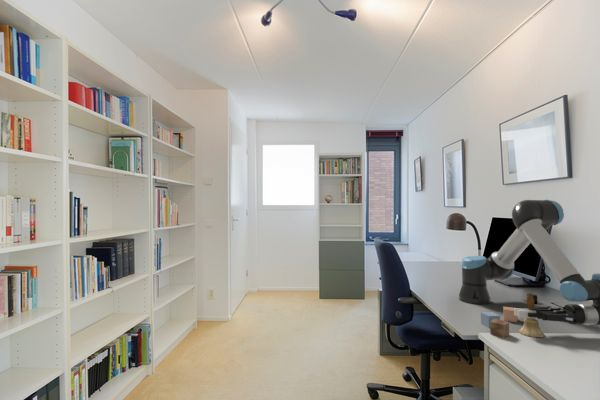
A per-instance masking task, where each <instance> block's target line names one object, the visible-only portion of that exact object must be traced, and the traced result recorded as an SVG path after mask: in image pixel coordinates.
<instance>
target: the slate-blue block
mask: <svg viewBox="0 0 600 400" xmlns="http://www.w3.org/2000/svg"><path fill="white" fill-rule="evenodd" d="M494 319H498V320H501V316H500V315H499V314H497V313H495V312H493V311H482V312H480V324H481V325H482V326H485V327H486V328H488V329H490V321H492V320H494Z"/></svg>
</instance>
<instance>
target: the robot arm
mask: <svg viewBox="0 0 600 400" xmlns="http://www.w3.org/2000/svg"><path fill="white" fill-rule="evenodd" d="M511 217H512V218H511V219H512V222H513V224H514V226H515V228H516V229H515V230H514V231H513V233H511V235H510V236H509V237H508V238H507V240H506V241H505V242H504V243H503V245H502V246H501V247H500V249H499V250H498V251H494V252H492V253H491V254H490V256H489V257H488V258H486V256H483V255H470V256H465V257H463V258H462V262H461V279H462V282H461V283H462V284H461V287H460V291H459V294H458V300H459V301H462V302H463V303H464V302H465V303H468V304H475V305H476V304H477V305H487V304H490V303H491V300H492V299H491V296H490V292H489V290H488V288H487V285H488V284H487V281H502V280H508V279H510V278H511V277H512V276H513V275H514V274H515V270H514V269H515V261H516V260H517V259H518V258H519V257H520V256H521V254H522V253H523V252H524V251H525V249H526V248H528V246H530V244H531V245H532V246H533V247H534V249H535V251H536V252H537V253H538V254H539V256H540V258H541V259H542V261H543V262H544V263H545V264H546V265H547V268H549V270H550V271H551V273H552V274H553V275H554V277H555V278H556V279H557V281H558V282H559V283H560V285H559V294H560V295H561V297H563V299H565V300H567V301H569V302H576V304H575V303H574V304H573V303H571V304H570V303H568V304H565V305H564V306H563V308H562V307H552V306H550V305H546V306H534V307H533V311H532V310H528V308H517V307H513V308H514V315H515V316H517V318H519V319H526V318H534V319H538V320H539V319H540V320H542V321H549V322H550V321H551V322H565V323H568V324H569V325H584V326H587V327H590V326H591V325H593V326H600V273H593V274H592V275H591V279H588V280H587V279H585V278H584V277H583V276H582V274H581V273H580V272H579V271H578V270H577V268H576V267H575V265H574V264H573V263H572V262H571V260H570V259H569V258H568V257H567V256H566V254H565V252H563V250H562V249H561V248H560V246H559V245H558V244H557V242H556V241H555V239H553V238H552V236H551V235H550V233H548V229H549V228H550V227H551V226H556V225H559V224H561V223H562V222H563V220H564V218H565V213H564V209H563V207H562V205H561V204H560V203H559V202H557V201H556V200H552V199H551V200H550V199H543V200H541V199H524V200H521V201H519V202H518V203H516V204H515V205H514V206H513V208H512V212H511ZM587 301H592V304H587V303H586V304H582V303H581V302H587ZM577 302H578V304H577ZM580 303H581V304H580Z"/></svg>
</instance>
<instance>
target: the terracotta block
mask: <svg viewBox="0 0 600 400" xmlns="http://www.w3.org/2000/svg"><path fill="white" fill-rule="evenodd" d="M502 308H503V309H502V310H503V312H502V313H503V314H502V315H503V321H506V322H509V323H510V322H511V323H518V316H515V315H514V308H515V307H509V306H502Z"/></svg>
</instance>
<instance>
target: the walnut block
mask: <svg viewBox="0 0 600 400" xmlns="http://www.w3.org/2000/svg"><path fill="white" fill-rule="evenodd" d="M489 329H490V331H489V332H490V335H492V336H495V337H500V338H503V337H504V338H503V339H505V338H506V336H507V337H508V336H510V321H504V320H502V319H500V320H498V319H494V320H492V321H490V328H489Z"/></svg>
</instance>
